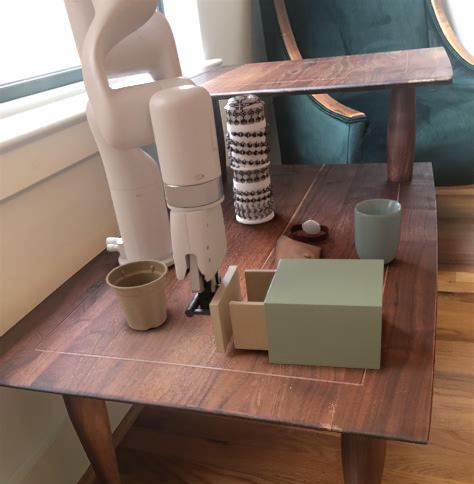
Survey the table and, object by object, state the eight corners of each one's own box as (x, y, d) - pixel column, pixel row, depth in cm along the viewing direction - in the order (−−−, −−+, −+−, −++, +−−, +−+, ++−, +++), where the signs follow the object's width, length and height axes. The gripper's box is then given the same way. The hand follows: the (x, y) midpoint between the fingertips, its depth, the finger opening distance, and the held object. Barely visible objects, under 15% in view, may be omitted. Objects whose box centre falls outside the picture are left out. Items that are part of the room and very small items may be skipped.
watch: (331, 235, 107) (331, 218, 106) (325, 245, 104) (325, 227, 102) (294, 233, 110) (293, 216, 108) (287, 243, 107) (285, 225, 105)
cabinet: (269, 363, 74) (263, 302, 69) (284, 314, 85) (280, 258, 80) (379, 369, 71) (382, 306, 66) (381, 317, 81) (384, 259, 76)
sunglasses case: (327, 294, 87) (304, 263, 85) (291, 315, 90) (267, 285, 87) (321, 246, 102) (301, 219, 100) (290, 265, 105) (270, 239, 103)
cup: (400, 270, 92) (403, 215, 87) (353, 270, 94) (353, 216, 89) (398, 250, 99) (401, 197, 93) (354, 251, 100) (354, 199, 95)
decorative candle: (284, 215, 119) (276, 94, 106) (250, 228, 115) (237, 104, 102) (260, 205, 126) (249, 90, 113) (226, 217, 122) (211, 99, 109)
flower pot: (125, 307, 92) (113, 261, 87) (180, 303, 91) (171, 256, 87) (112, 339, 84) (99, 290, 79) (172, 334, 83) (162, 285, 79)
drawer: (185, 350, 78) (175, 303, 74) (207, 308, 87) (200, 265, 83) (313, 357, 73) (310, 307, 69) (322, 312, 82) (320, 266, 78)
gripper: (184, 173, 77) (203, 286, 87) (146, 213, 65) (172, 339, 75) (235, 171, 75) (248, 287, 85) (205, 212, 63) (225, 342, 73)
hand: (213, 311), depth 80 cm, fingers closed
